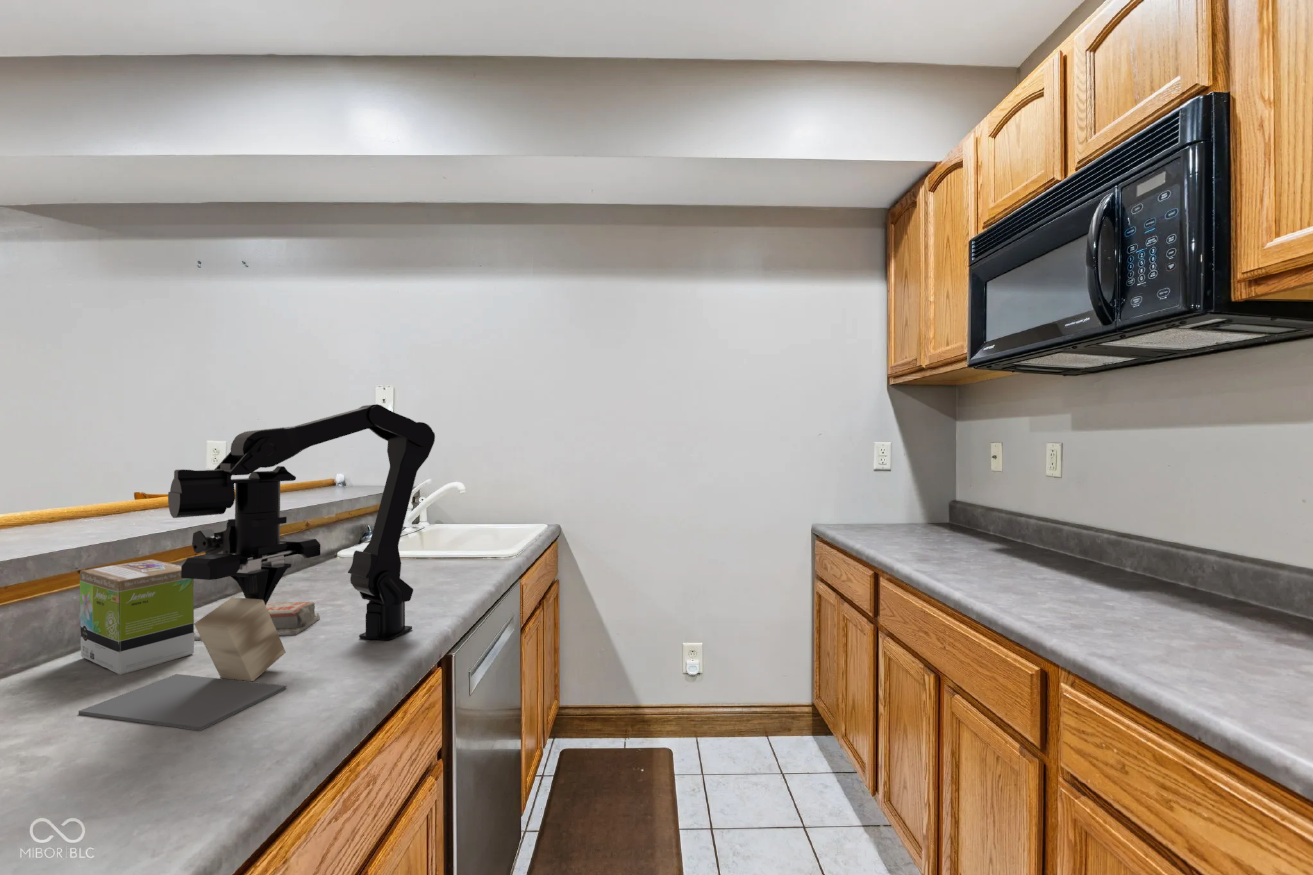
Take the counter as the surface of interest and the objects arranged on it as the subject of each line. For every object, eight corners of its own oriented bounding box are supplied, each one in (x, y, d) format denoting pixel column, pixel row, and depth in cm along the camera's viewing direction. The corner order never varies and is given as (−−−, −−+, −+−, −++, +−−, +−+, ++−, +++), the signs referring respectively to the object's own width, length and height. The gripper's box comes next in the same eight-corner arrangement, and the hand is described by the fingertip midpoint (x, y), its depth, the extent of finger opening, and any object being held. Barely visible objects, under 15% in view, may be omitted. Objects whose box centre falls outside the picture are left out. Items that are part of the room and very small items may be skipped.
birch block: (256, 648, 90) (232, 596, 86) (286, 651, 88) (263, 599, 85) (220, 677, 84) (194, 623, 81) (252, 681, 83) (226, 626, 79)
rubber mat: (176, 676, 85) (176, 673, 85) (286, 688, 80) (286, 685, 80) (78, 713, 73) (78, 710, 73) (200, 730, 68) (200, 727, 68)
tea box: (77, 659, 92) (77, 569, 92) (154, 640, 101) (154, 557, 101) (117, 676, 85) (117, 578, 85) (196, 654, 94) (196, 565, 94)
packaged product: (321, 596, 113) (297, 611, 103) (321, 620, 113) (297, 637, 103) (223, 600, 111) (188, 616, 101) (223, 625, 111) (188, 643, 101)
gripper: (269, 504, 98) (269, 594, 98) (151, 517, 80) (150, 628, 80) (323, 505, 95) (322, 598, 95) (213, 519, 77) (212, 634, 77)
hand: (257, 612), depth 87 cm, fingers closed
